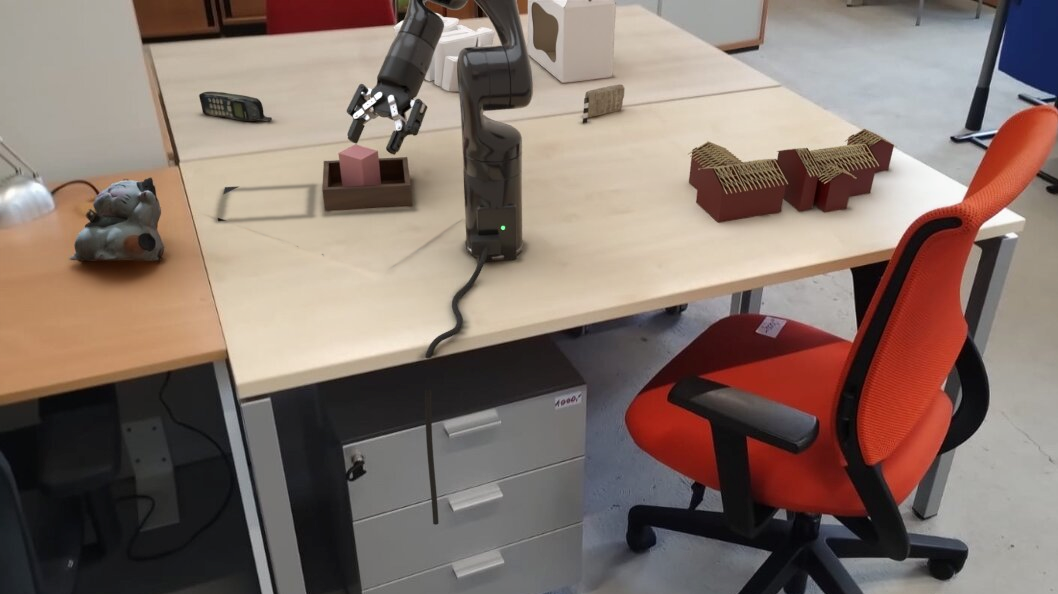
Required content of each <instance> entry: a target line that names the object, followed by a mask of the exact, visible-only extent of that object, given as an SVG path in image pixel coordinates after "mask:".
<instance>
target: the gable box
mask: <svg viewBox="0 0 1058 594" xmlns="http://www.w3.org/2000/svg"><path fill="white" fill-rule="evenodd" d="M616 12H617V2H616V1H614V0H527V51H528V55H529V57H530V58H532V59H533V60H534V61H535V62H537V63H538V64H539V65H540V66H541V67H543V69H545V70H546V71H547V72H549V73H550V75H552V76H553V77H554V78H556V79H557V80H558V81H560V82H561V83H562V84H568V83H575V82H583V81H590V80H591V81H593V80H601V79H607V78H608V79H609V78H612V77H613V73H614V72H613V71H614V70H613V69H614V52H615V32H616V31H615V30H616Z"/></svg>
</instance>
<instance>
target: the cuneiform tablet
mask: <svg viewBox="0 0 1058 594" xmlns="http://www.w3.org/2000/svg"><path fill="white" fill-rule="evenodd" d="M624 97H625V86H624V85H623V84H622V83H621V84H619V83H618V84H613V85H607V86H604V87H599V88H595V89H590V90H587V91H585V95H584V99H583V112H582V113H583V114H582V124H586V123H588V118H593V117H596V116H601V115H604V114H609V113H615V112H619V111H621V110H622V108H623V102H624Z"/></svg>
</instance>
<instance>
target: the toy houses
mask: <svg viewBox="0 0 1058 594" xmlns="http://www.w3.org/2000/svg"><path fill="white" fill-rule="evenodd" d="M844 142H845V143H846V144H845V145H840V146H832V147H825V148H818V149H810V150H809V148H808V147H801V148H787V149H781V150H776V153H777V158H768V159H767V158H766V159H765V158H764V159H757V160H749V161H742V159H740V158H739V157H737V156H736V155H734V153H733V152H731V151H730V150H729V149H727V148H726V147H724V146H721V145H720V144H719V145H718V144H716V143H713V142H711V141H707V142H704V143H703V144H701V145H699V146H697V147H696V146H695V148H693V149H692V150H691V151H690V152H688V153H687V155H690V154H691V155H690V156H689V157H691V158H690V167H689V175H688V177H689V178H688V183H689V184H690V185H691V186H692V187H693V188H694V189H695V190H696V198H695V203H696V204H697V205H698V206H700V208H702V210H703V211H705V212H706V214H708V215H709V216H710V217H711V218H712V219H713V220H714V221H716V222H717V223H724V222H729V221H735V220H741V219H747V218H753V217H759V216H764V215H770V214H771V215H772V214H776V213H781V212H782V209H783V203H784V201H785V202H787V203H788V204H789V205H790V206H792V207H793V208H794V209H795V210H796V211H798V212H803V211H808V210H809V211H810V210H813V208H814V207H813V205H814V206H815V207H817V208H818V209H819V210H821V211H822V212H823V213H829V212H830V213H831V212H835V211H841V210H846V209H847V207H848V203H849V199H850V197H855V196H860V195H866V194H871V192H872V188H873V183H874V178H875V174H876V173H879V172H880V173H881V172H886V171H889V169H890V164H891V159H892V156H893V151H894V147H895V148H897V147H898V145H895V144H894V143H892V142H891V141H889V140H887V139H886V138H884V137H883V136H881V135H879V134H877V133H875V132H873V131H871V130H868V129H866V128H863V129H862V130H860V131H858V132H856V133H855V134H854V133H853V134H851V135H849V136H848V138H847V139H846V140H844Z"/></svg>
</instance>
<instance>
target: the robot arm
mask: <svg viewBox="0 0 1058 594" xmlns="http://www.w3.org/2000/svg"><path fill="white" fill-rule="evenodd" d="M468 1H469V0H409V1H408V6H407V9H406V13H405V17H404V19H403V20H404V21H403V20H402V21H403V23H402V25H401V28H400V30H399V32H398V34H397V36H396V37H395V38H394V39H393V41H392V43H391V45H390V47H389V49H388V52H387V54H386V55H385V58H384V60H383V62H382V65H381V67H380V69H379V72H378V74H377V77H376V85H375V86H374V87H373V88H370V87H367V86H366V85H365V84H363V83H360V84H359V85H358V87H357V88H356V90H355V92H354V94H353V96H352V99H351V101H350V102H349V105H348V106H347V108H346V113H347V114H348V115H349V116H350V117H352V122H351V124H350V126H349V128H348V131H347V140H349V141H350V142H351V143H353V144H358V143H359V140H360V138H361V135H362V133H363V131H364V129H365V127H366V126H365V124H367V123H368V122H370V121H371V120H375V119H377V118H378V117H381V118H383V119H384V118H386V119H387V118H388V119H389V120H391V121H393V122H394V127H395V130H393V131H392V133H391V135H390V138H389V140H388V142H387V145H386V148H385V150H386V151H387V152H388V153H389V154H390V155H394V156H395V155H396V154H397V153H399V151H400V149H401V147H402V145H403V142H404V140H405V138H406V137H408V136H411V135H412V136H414V137H416V136H417V135H418V134H419V132H420V129H421V127H422V123H423V121H424V118H425V115H426V113H427V110H428V106H427V104H426V103H425V102H424V101H423V100H421V98H417V96H418V95H419V92H420V89H421V88H422V85H423V83H424V81H425V76H426V74H427V71H428V69H429V67H430V64H431V61H432V57H433V54H434V51H435V49H436V47H437V44H438V42H439V40H440V37H441V35H442V33H443V30H444V22H443V20H442V19H441V18H440V17H439V16H438V15H437V14H436V13H437V12H434V11H433V10H431V8H429V7H427V6H426V3H427V2H431V3H433V4H436V5H437V6H441V7H444V8H446V9H449V10H452V11H458V10H460V9H462V8H464V7H465V6H466V5H467V3H468ZM473 1H474V2H475V3H476V4H477V5H478V6H479V7H480V9H481V10H482V11H483V13H484V14H485V15H486V17H487V18H488V19H489V21H490V23H491V24H492V26H493V28H494V31H495V33H497V37H498V40H499V42H500V45H492V46H483V47H468V48H464V49H462V50H461V52H460V53H459V56H458V60H457V78H458V89H459V92H458V96H459V107H460V122H461V144H462V145H461V146H462V147H461V148H462V149H461V150H462V168H463V169H462V174H463V196H464V222H465V223H464V224H465V249H466V251H467V252H468V254H470V255H471V256H472V257H474V258H477V261H478V262H477V263H478V264H477V266H476V268H475V270H474V272H473V274H472V275H471V277H470V278H469V280H468V281H467V282H466V284H465V285H464V286H463V287H461V288H460V289H459V290H458V291H457V292H456V293H455V295H454V296H453V299H452V300H451V308H452V312H453V314H454V317H455V319H456V324H455V326H454V327H453V328H452V329H450V330H447V331H445V332H442V333H441V334H439V335H438V336H436V337H435V338H434V339H433V340H432V341H431V342H430V344H429V346H428V347H427V349H426V352H425V356H424V358H425V359H430V358H432V356H433V354H434V351H435V349H436V347H437V346H438V345H439V344H440V343H442V342H443V341H445V340H447V339H449V338H452V337H454V336H455V335H457V334H458V333H459V332H460V331H461V330H462V327H463V324H464V319H463V315H462V312H461V311H460V309H459V301H460V299H461V298H462V296H463V295H464V294H466V293H467V292H468V291H469V290H470V289H471V288H472V287H473V285H474V284H475V282H476V281H477V279H478V278H479V276H480V274H481V271H482V270H483V268H484V266H485V263H486V262H491V261H492V262H493V261H505V260H507V261H508V260H517V258H518V255H519V254H520V253H521V252H522V251H523V248H524V240H523V138H522V135H521V132H520V131H519V130H518V129H517V128H516V127H514V126H512V125H510V124H508V123H506V122H505V123H504V122H502V121H498V120H495V119H492V118H491V117H488V116H486V115H485V114H484V112H487V111H488V112H489V111H490V112H491V111H503V110H504V111H506V110H517V109H523V108H527V107H528V106H529V105H530V103H531V102H532V99H533V94H534V80H533V73H532V71H533V70H532V65H531V60H530V56H529V55H528V45H527V42H526V38H525V34H524V30H523V25H522V20H521V16H520V11H519V6H518V1H517V0H473ZM415 98H416V99H415ZM410 110H411V111H410ZM408 111H410V113H409V115H408V118H407V112H408ZM424 405H425V407H424V409H425V410H424V411H425V414H424V415H425V437H426V438H425V439H426V440H425V441H426V453H427V454H426V455H427V466H428V476H429V477H428V478H429V489H430V497H431V498H430V499H431V511H432V513H431V514H432V524H433V525H434V526H436V525H438V524H439V509H438V508H439V507H438V506H439V505H438V494H437V484H436V483H437V482H436V471H435V460H434V446H433V426H432V425H433V421H432V389H425V390H424Z"/></svg>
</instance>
